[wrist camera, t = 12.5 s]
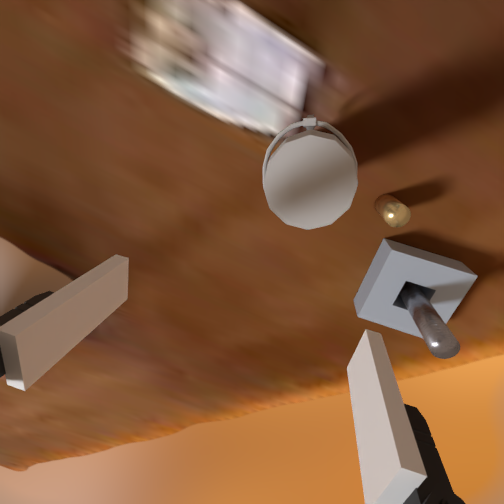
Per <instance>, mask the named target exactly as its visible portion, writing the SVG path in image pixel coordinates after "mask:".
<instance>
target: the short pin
mask: <svg viewBox="0 0 504 504" xmlns="http://www.w3.org/2000/svg"><path fill="white" fill-rule="evenodd" d="M375 209H376V211H377V212H378V213H379V214H380V215H381V216H382V218H383V219H384V220H385V221H386V222H387V223H388V224H389V225H390V226H392V227H401V226H403V225H405V224H406V223H407V222H408V221H409V219H410V216H411V212H410V210H409V208H408V207H407V206H405V205H404V204H403V203H401V202H400V201H399V200H397V199H396V198H395V197H393V196H392V195H390V194H383V195H381V196H379V197H378V198H377V199H376V201H375Z"/></svg>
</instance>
